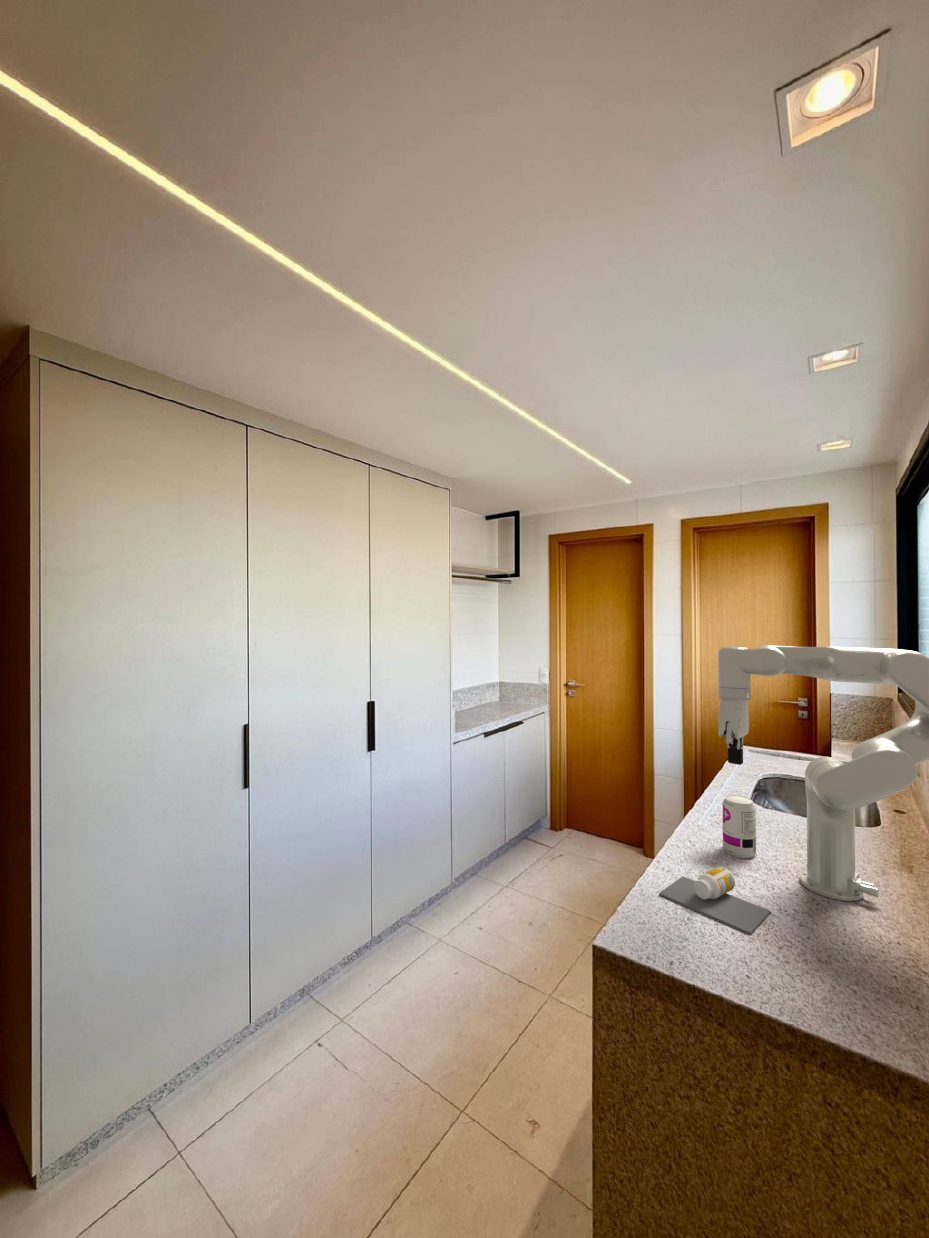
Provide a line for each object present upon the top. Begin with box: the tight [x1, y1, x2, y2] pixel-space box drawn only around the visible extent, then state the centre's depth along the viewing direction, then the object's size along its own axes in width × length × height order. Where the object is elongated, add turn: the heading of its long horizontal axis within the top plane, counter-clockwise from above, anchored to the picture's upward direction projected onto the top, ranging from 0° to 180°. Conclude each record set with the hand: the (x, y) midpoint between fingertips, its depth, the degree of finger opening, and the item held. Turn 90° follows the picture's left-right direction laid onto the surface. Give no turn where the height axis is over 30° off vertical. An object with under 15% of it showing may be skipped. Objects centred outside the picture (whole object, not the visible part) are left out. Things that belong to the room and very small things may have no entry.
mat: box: [658, 875, 772, 936], centre depth 114 cm, size 20×12×1 cm, turn 41°
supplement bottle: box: [694, 866, 736, 899], centre depth 117 cm, size 5×5×10 cm
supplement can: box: [722, 794, 757, 859], centre depth 140 cm, size 8×8×15 cm
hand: (735, 763), depth 130 cm, fingers closed
